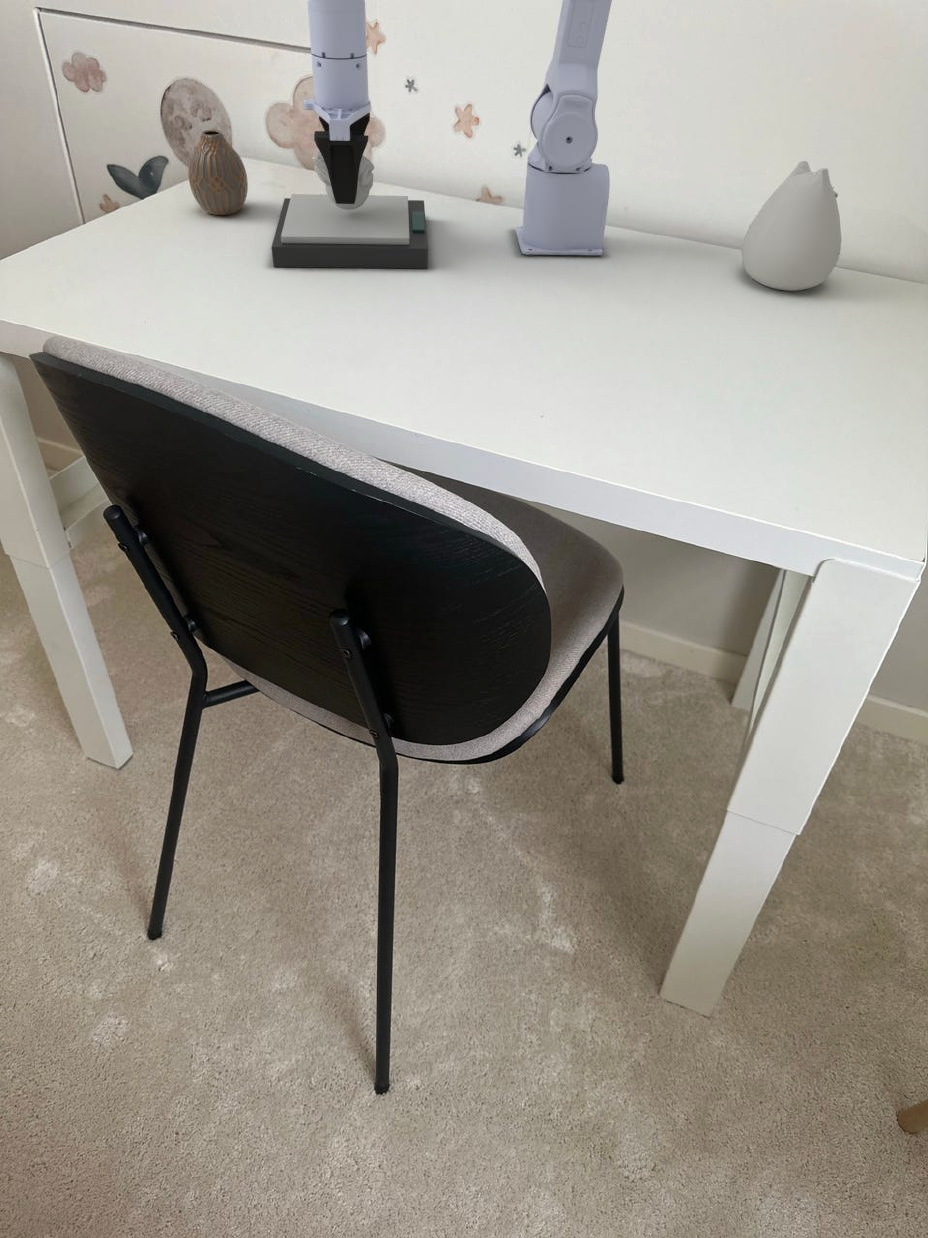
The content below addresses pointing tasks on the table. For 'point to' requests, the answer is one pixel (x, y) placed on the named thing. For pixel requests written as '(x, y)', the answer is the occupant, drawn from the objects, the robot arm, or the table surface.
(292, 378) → the table surface
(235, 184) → the vase
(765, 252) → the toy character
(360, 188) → the frog figurine
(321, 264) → the scale
